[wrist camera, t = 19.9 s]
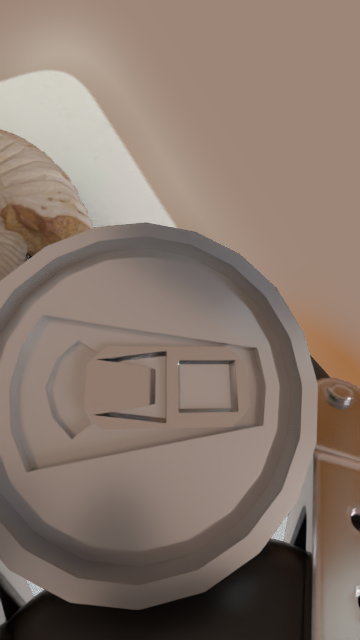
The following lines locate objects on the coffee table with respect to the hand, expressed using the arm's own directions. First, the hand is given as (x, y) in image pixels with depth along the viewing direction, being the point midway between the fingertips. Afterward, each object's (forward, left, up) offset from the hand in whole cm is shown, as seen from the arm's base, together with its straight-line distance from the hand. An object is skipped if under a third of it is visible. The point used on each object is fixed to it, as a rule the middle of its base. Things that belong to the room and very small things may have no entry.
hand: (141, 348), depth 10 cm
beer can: (+1, -1, -6) cm, 6 cm away
